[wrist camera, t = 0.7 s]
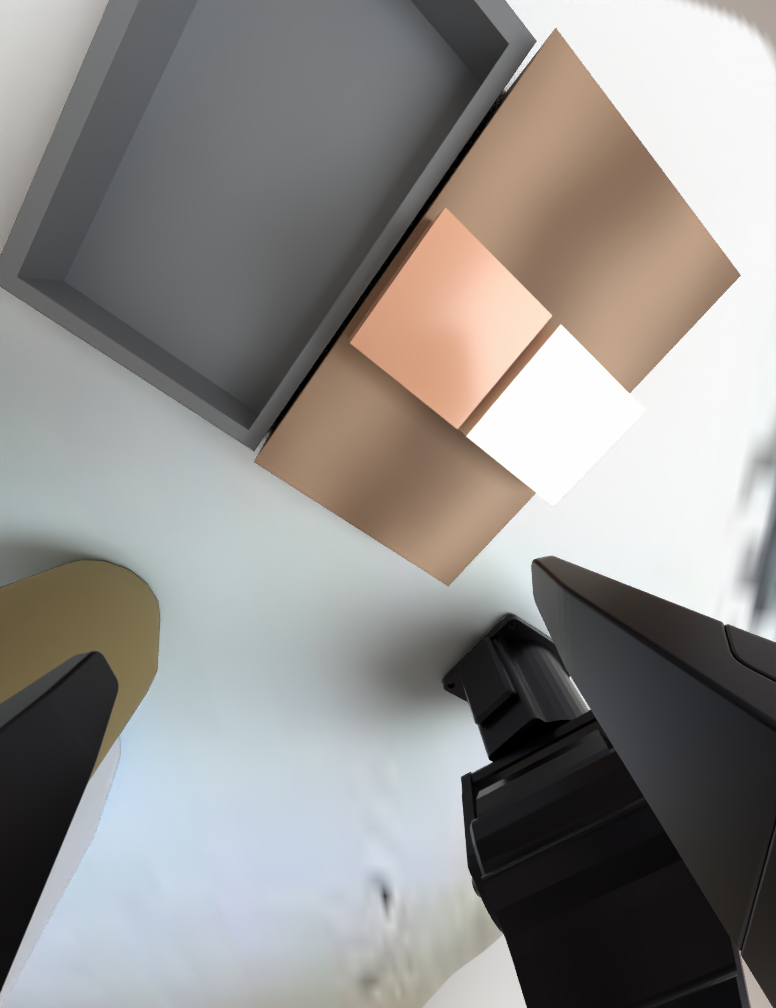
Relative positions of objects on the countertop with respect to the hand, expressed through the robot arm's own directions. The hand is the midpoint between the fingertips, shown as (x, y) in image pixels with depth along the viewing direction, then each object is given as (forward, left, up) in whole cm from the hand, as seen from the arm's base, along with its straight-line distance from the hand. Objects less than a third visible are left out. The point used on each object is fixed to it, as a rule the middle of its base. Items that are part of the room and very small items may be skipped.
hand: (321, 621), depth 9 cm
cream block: (-5, -7, -9) cm, 12 cm away
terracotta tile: (0, -7, -9) cm, 11 cm away
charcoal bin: (+8, -7, -13) cm, 16 cm away
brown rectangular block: (-2, -7, -13) cm, 15 cm away
